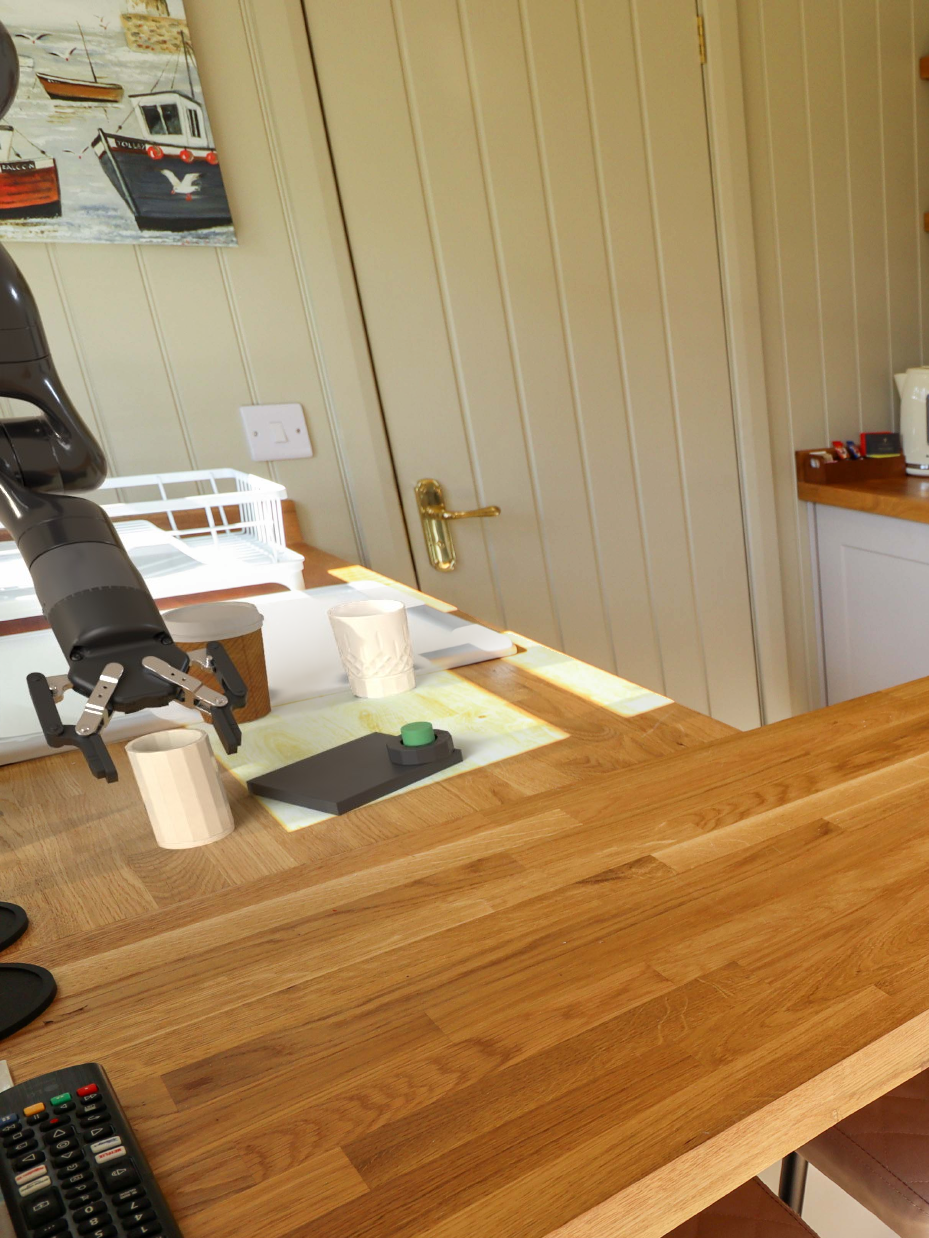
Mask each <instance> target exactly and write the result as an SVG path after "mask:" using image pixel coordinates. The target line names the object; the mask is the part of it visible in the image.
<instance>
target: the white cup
mask: <svg viewBox="0 0 929 1238" xmlns="http://www.w3.org/2000/svg"><path fill="white" fill-rule="evenodd" d="M406 609H407V608H406V604H405V603H404V602H402V601H399V600H393V599H369V600H360V601H353V602H348V603H344V604H343V603H342V604H340V605H336V606H334V607H332V608H330V609H328V611H327V616H328V620H329V623H330V626H331V630H332V634H333V637H334V640H335V644H336V647H337V650H338V653H339V657H340V659H341V662H342V663H341V664H342V665H343V669H344V671H345V672H346V674H347V679H348V682H349V686H350V689H351V692H352V695H354V696H356V697H358V698H365V699H379V698H381V699H382V698H389V697H392V696H393V697H395V696H399V695H402V694H405V693H408V692H410V691H411V690H413V689H415V688H416V686H417V684H416V675H415V669H414V664H415V663H414V656H413V648H412V641H411V635H410V629H409V628H410V627H409V623H408V615H407V610H406Z"/></svg>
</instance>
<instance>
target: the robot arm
mask: <svg viewBox="0 0 929 1238" xmlns="http://www.w3.org/2000/svg"><path fill="white" fill-rule="evenodd" d="M20 80H21V68H20V59H19V55H18V51H17V47H16V44H15V42H14V40H13V38H12V35H11V33H10V31H9V30H8V28H7V26H6V25H5V24H4V23H3V21H1V19H0V122H2V120H3V119H4V118H5V116H6V115H7V114H8V113H9V112H10V110H11V107H12V106H13V104H14V102H15V100H16V96H17V94H18V90H19V85H20ZM0 398H3V399H12V400H17V401H22V402H26V403H29V404H31V405H33V406H35V407H36V408H37V409H38V410H39V411H40V415H35V416H34V415H29V416H13V417H0V524H2V526H3V527H4V528H5V529H6V531H7V532H8V534H9V535H10V536H11V538H12V540H13V541H14V543H15V545H16V547H17V549H18V551H19V552H20V554H21V557H22V559H23V561H24V563H25V566H26V567H27V570H28V572H29V575H30V577H31V580H32V583H33V587H34V591H35V595H36V599H37V600H38V602H39V605H40V607H41V612H42V616H43V617H44V618H45V620H46V621H47V623H48V624H49V626H50V629H51V631H52V633H53V635H54V637H55V640H56V641H57V643H58V645H59V647H60V650H61V652H62V654H63V656H64V659H65V660H66V662H67V665H68V667H69V668H68V672H67V673H65V674H57V675H51V676H46V675H45V674H44V673H42V672H40V671H39V672H38V671H33V672H30V673H28V674H27V675H26V677H25V680H26V684H27V688H28V692H29V696H30V699H31V702H32V705H33V707H34V710H35V713H36V716H37V720H38V721H39V725H40V728H41V730H42V733H43V735H44V738H45V741H46V744H47V746H49V747H50V748H53V749H60V748H62V747H64V746H67V747H69V746H71V747H76V748H78V750H80V751H81V753H82V755H83V757H84V759H85V761H86V764H87V766H88V768H89V770H90V772H91V775H92V776H93V777H94V778H96V779H97V780H101V779H105V781H106V783H107V784H108V785H109V784H114V783H117V782H119V773H118V771H117V767H116V765H115V764H114V761H113V758H112V757H111V755H110V752H109V750H108V748H107V746H106V744H105V742H104V739H103V738H102V733H103V732H104V730H105V729H106V728H107V727H108V726H109V724H110V722H111V720H112V718H113V716H114V714H115V712H117V713H124V715H125V716H126V715H129V714H135V713H138V712H141V711H142V710H146V709H159V708H163V707H169V706H170V704H169V703H172V702H175V703H177V704H179V705H181V706H183V707H185V708H187V709H189V710H197V711H198V712H200V711H201V712H203V713H205V714H207V715H209V716H211V722H212V724H213V725H212V727H213V729H214V731H215V733H216V735H217V737H218V740H219V741H220V744H221V745H222V747H223V748H224V751H225V753H226V755H227V756H230V755H235V754H237V753H238V747H241V746H242V739H243V738H242V736H243V732H242V730H241V728H240V726H239V724H237V722H236V720H235V718H234V716H233V714H232V711H234V710H235V709H237V708H244V707H246V705H247V694H248V688H247V686H246V684H245V683H244V681H243V679H242V678H241V676H240V674H239V672H238V671H237V669H236V667H235V666H234V664H233V662H232V661H231V659H230V657H229V655H228V654H227V652H226V650H225V649H224V647H223V645H222V644H221V643H220V642H218V641H210V642H208V643H207V644H206V648H203V649H199V650H194V651H190V652H185V651H183V650H181V649H180V648H179V647H178V646H177V645H176V644H175V643H174V641H173V639H172V637H171V635H170V633H169V630H168V628H167V626H166V624H165V622H164V620H163V618H162V616H161V615H162V613H161V612H160V610H159V608H158V606H157V604H156V601H155V599H154V597H153V596H152V594H151V591H150V589H149V587H148V585H147V583H146V581H145V579H144V577H143V575H142V574H141V572H140V571H139V569H138V568H137V566H136V565H135V563H134V562H133V561H132V559H131V557H130V556H129V553H128V551H127V549H126V547H125V545H124V543H123V541H122V540H121V537H120V535H119V533H118V530H117V528H116V527H115V525H114V523H113V520H112V519H111V516H109V514H108V513H107V511H106V510H105V509H104V507H102V506H101V505H99V504H98V503H96V502H94V501H93V500H90V499H87V498H85V497H80V496H77V495H86V494H88V493H89V494H90V493H93V492H96V491H97V490H99V489H100V488H101V487H102V486H103V484H104V483H105V482H106V479H107V476H108V473H109V471H108V470H109V465H108V459H107V456H106V454H105V451H104V450H103V448H102V445H100V443H99V441H98V439H97V437H96V436H95V435H94V433H93V432H92V430H91V429H90V427H89V426H88V425H87V423H86V422H85V420H84V418H83V417H82V416H81V414H80V413H79V411H78V410H77V407H76V406H75V405H74V403H73V400H72V399H71V397H70V395H69V394H68V392H67V390H66V387H65V386H64V384H63V382H62V380H61V377H60V375H59V372H58V369H57V368H56V365H55V361H54V359H53V355H52V352H51V348H50V344H49V341H48V337H47V334H46V330H45V327H44V322H43V320H42V316H41V312H40V308H39V306H38V303H37V300H36V297H35V295H34V293H33V291H32V289H31V286H30V284H29V283H28V281H27V279H26V277H25V275H24V274H23V272H22V270H21V269H20V267H19V266H18V264H17V263H16V260H14V258H13V256H12V255H11V253H10V252H9V251H8V249H6V247H5V245H4V244H3V243H2V241H0ZM190 666H198V667H200V668H201V669H202V670H203V671H204V672H207V673H212V672H213V674H214V675H215V677H216V679H217V680H218V682H219V684H220V686H221V687H222V689H223V691H224V692H225V693H223V694H220V693H218V692H216V691H214V690H212V689H210V688H208V687H206V686H204V685H203V683H202V682H201V681H199V680H198V679H196V678H194V677H192V676H190V675H188V672H189V670H190ZM68 690H73V692H75V693H77V694H79V695H81V696H83V697H85V698H86V699H87V701H86V703H85V706H84V709H83V712H82V714H81V716H80V718H79V719H78V721H77V723H76V724H63V721H62V719H61V716H60V713H59V710H58V708H57V704H58V703H60V702H62V701H63V700H64V699H65V692H66V691H68Z"/></svg>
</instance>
